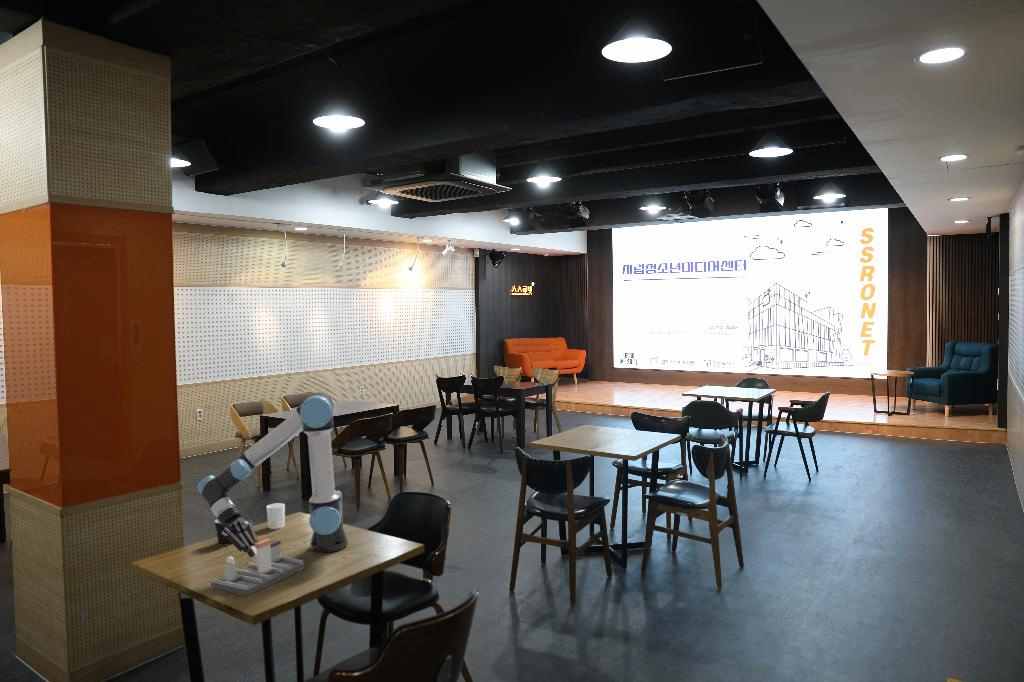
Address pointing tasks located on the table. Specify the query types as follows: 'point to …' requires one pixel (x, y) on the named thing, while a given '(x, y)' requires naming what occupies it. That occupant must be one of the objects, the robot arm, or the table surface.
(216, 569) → the table surface
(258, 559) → the white tall block
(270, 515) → the white cup
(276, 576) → the grey slotted tray
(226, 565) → the sage knob slider
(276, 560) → the grey slider
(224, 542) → the coffee mug
